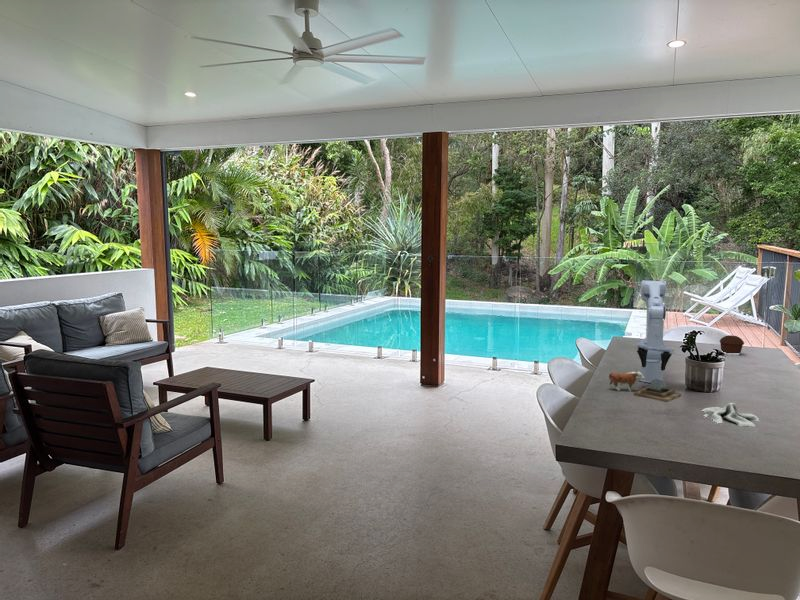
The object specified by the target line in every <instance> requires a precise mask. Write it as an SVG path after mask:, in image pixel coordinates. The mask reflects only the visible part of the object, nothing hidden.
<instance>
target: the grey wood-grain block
mask: <svg viewBox="0 0 800 600" xmlns="http://www.w3.org/2000/svg"><path fill="white" fill-rule="evenodd" d="M649 386H650V391H652V392H658V393H665V392H666V388H667V380H659V379H654V380H652V381H650V383H649Z"/></svg>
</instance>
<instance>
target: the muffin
mask: <svg viewBox="0 0 800 600" xmlns="http://www.w3.org/2000/svg"><path fill="white" fill-rule="evenodd" d="M719 343H720V350H722V351H723V352H726V353H740V352H741V353H742V349H743V346H744V345H745V342H744V340H743V339H742V338H741V337H739V336H737V335H732V334H731V335H725V336H723V337H721V338H720V339H719Z"/></svg>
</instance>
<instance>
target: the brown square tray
mask: <svg viewBox="0 0 800 600" xmlns="http://www.w3.org/2000/svg"><path fill="white" fill-rule="evenodd" d="M633 395H634V396H636V397H641V398H647V399H652V400H657V401H661V402H666V403H668V402H670V401H672V400H676V398H679V397H682V393H679V392H675V389H671V388H667V387H666V392H665V393H658V392H652V391H650V385H649V386H647V387H644V388H642V389H639V390H638V391H636V392H634V393H633Z"/></svg>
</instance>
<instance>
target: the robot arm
mask: <svg viewBox="0 0 800 600" xmlns="http://www.w3.org/2000/svg"><path fill="white" fill-rule="evenodd" d="M640 286H641V287H640V298H641V300H642V301H643V302H645V305H646V329H645V330H646V332H645V333H646V335H645V338H643V339H641V340H640V341H639V342H638V343H635V349H637V350H636V352H637V355H638V358H639V360H640V362H641V363H640V364H641V365H640V372H641V373H642V375H643V377H644V379H641V380H638V381H637V382H643V383H648V384H650V381H652V380H654V379H659V380H664V379H663V378H662V377H663V375H662V374H663V371H665V370H666V366H667V365H668V362H669V360H670V358H671V357H672V355H673V354H674V353H675V348H673V347H669V346H664V327H665V325H664V323H665V320H666V315H667V308H666V305H664V299H665V297H666V292H667V282H666V281H665V280H645V279H642V281H641V282H640Z"/></svg>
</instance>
